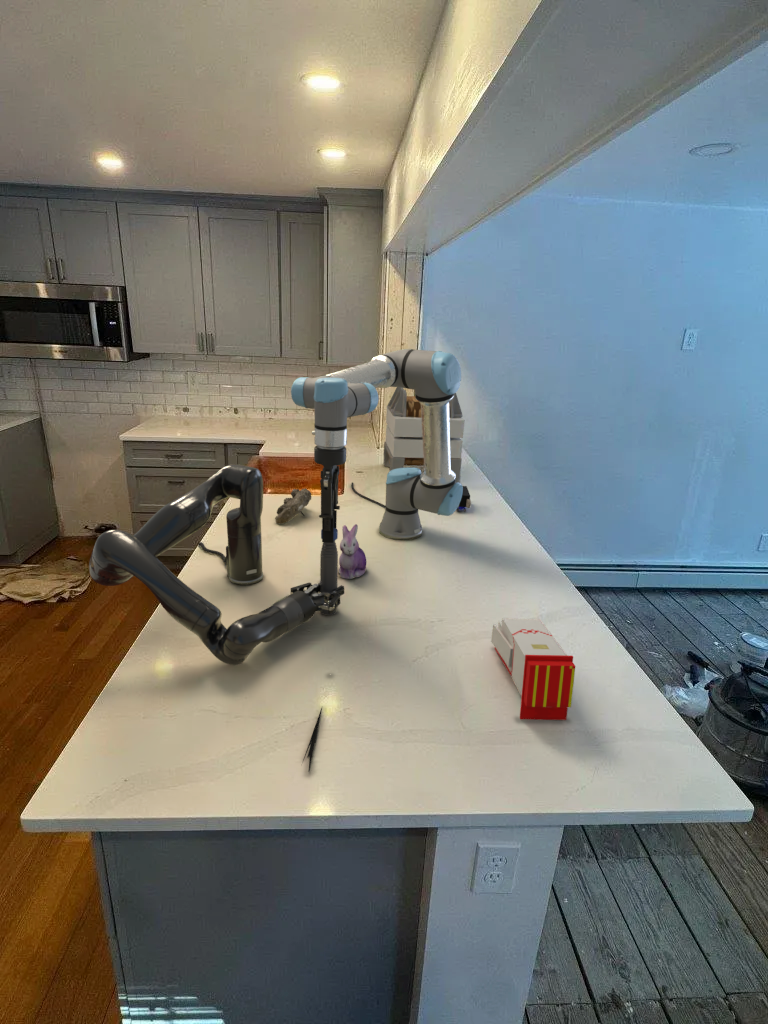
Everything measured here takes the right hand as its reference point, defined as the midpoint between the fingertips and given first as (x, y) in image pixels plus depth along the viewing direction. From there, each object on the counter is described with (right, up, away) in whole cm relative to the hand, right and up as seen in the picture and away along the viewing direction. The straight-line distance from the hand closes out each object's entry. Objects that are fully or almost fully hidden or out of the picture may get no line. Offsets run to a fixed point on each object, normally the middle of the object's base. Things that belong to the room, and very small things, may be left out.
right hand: (329, 538), depth 141 cm
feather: (+1, -33, -32) cm, 46 cm away
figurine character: (+44, +8, +89) cm, 100 cm away
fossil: (-20, +5, +72) cm, 75 cm away
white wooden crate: (+31, +25, +134) cm, 140 cm away
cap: (0, +2, -1) cm, 2 cm away
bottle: (-1, -19, +7) cm, 21 cm away
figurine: (+4, -12, +28) cm, 31 cm away
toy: (+44, -30, -17) cm, 56 cm away
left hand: (+1, -13, +7) cm, 15 cm away
